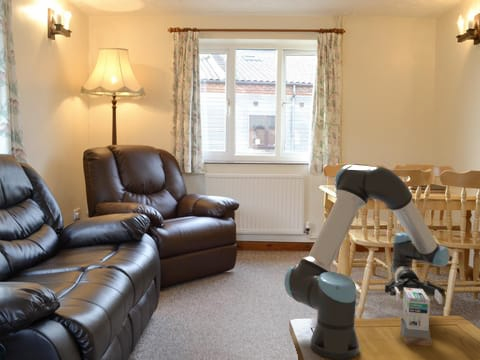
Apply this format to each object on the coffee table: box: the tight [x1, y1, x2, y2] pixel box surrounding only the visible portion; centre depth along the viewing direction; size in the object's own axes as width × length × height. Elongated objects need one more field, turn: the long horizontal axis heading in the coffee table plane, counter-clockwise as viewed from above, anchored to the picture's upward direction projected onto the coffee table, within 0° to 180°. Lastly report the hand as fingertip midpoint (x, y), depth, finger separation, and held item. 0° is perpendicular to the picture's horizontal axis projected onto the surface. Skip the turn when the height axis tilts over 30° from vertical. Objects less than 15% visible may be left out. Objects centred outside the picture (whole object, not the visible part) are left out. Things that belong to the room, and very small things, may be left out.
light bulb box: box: [401, 288, 431, 331], centre depth 152 cm, size 11×7×11 cm, turn 170°
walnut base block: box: [400, 328, 433, 347], centre depth 152 cm, size 8×8×3 cm
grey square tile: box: [400, 317, 431, 339], centre depth 152 cm, size 8×8×3 cm
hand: (419, 298), depth 152 cm, fingers open, 13 cm apart
